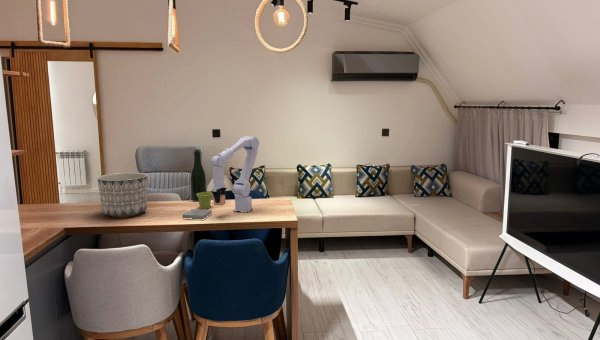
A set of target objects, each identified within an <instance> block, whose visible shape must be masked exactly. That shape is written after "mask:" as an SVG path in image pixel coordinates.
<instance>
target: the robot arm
mask: <svg viewBox="0 0 600 340" xmlns="http://www.w3.org/2000/svg"><path fill="white" fill-rule="evenodd" d="M259 146H260V141H259V138H258V137H256V136H247V135H243V136H241V137H240V138H239V140H238V141H237V142H236V143H234V144H233V145H232V146H231V147H230V148H229V147H226V148H224V149H223V151H221V152H219V153H218V154H217V155H214V156H212V157H211V160H210V165H211V166H212V170H213V171H212V173H213V174H212V176H213V184H212V185H211V187H212V189H211V192H210V193H212V196H214V199H215V202H216V203H220V196H221V195H226V194H225V193H226V191H227V189H228V188H227V187H226V183H225V168H224V167H225V165H226V162H228V161H229V160H230V159H232V158H233V157H234V154H235V153H237V152H238V151H240V150H241V149H244V150H245V151H246V153H247V154H246V156H245V160H244V163H243V166H242V169H241V172H240V176H239V178H238V179H236V180H235V182H234V184H233V185H232V188H231V192H232V193H233V196H234V206H235V207H234V210H236V211H250V210H251V209H252V210H253V202H252V201H253V199H252V196H250V193H251V186H252V185H251V183H250V177H251V174H252V171H253V168H254V165H255V161H256V159H257V155H258V149H259ZM252 210H251V211H252ZM251 211H250V212H251Z"/></svg>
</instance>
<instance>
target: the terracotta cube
mask: <svg viewBox="0 0 600 340" xmlns="http://www.w3.org/2000/svg"><path fill="white" fill-rule="evenodd" d="M212 196H213V195H212ZM212 199H213V200H212V201H213V206H224V205H225V204H226V194H224V195H221V196H220V203H216V202H215V199H214V196H213V197H212Z"/></svg>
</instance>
